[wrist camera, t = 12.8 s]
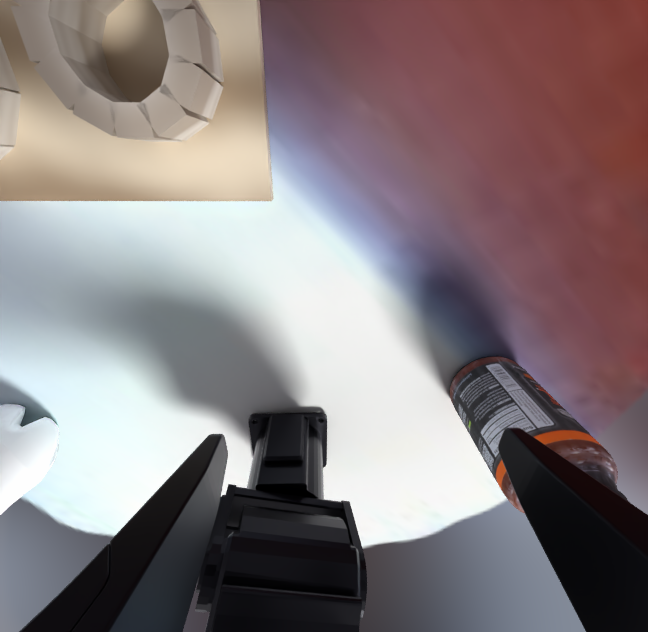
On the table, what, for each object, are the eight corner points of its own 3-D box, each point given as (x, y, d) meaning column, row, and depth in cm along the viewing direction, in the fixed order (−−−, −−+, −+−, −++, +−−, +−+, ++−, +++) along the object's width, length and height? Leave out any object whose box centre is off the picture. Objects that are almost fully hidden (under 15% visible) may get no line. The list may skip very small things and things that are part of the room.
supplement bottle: (532, 384, 24) (684, 540, 14) (468, 420, 26) (564, 581, 16) (500, 338, 22) (653, 483, 12) (432, 380, 24) (518, 538, 14)
